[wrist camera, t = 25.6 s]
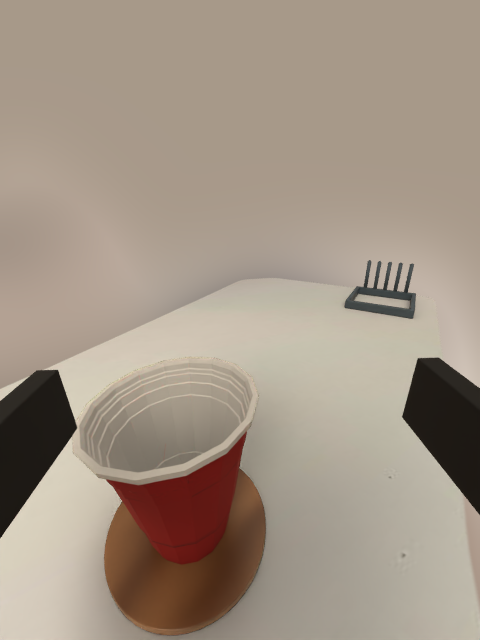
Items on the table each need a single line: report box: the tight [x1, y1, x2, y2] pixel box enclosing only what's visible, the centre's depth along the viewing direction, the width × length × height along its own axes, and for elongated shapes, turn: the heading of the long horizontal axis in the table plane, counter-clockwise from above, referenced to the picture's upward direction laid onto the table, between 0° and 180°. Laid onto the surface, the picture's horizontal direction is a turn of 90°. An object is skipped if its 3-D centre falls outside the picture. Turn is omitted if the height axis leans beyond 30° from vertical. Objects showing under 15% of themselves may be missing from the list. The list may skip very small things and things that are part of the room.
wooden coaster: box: [104, 468, 266, 635], centre depth 21 cm, size 12×12×1 cm
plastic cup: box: [72, 357, 259, 565], centre depth 19 cm, size 11×11×12 cm
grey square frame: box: [345, 260, 416, 319], centre depth 66 cm, size 14×14×9 cm
